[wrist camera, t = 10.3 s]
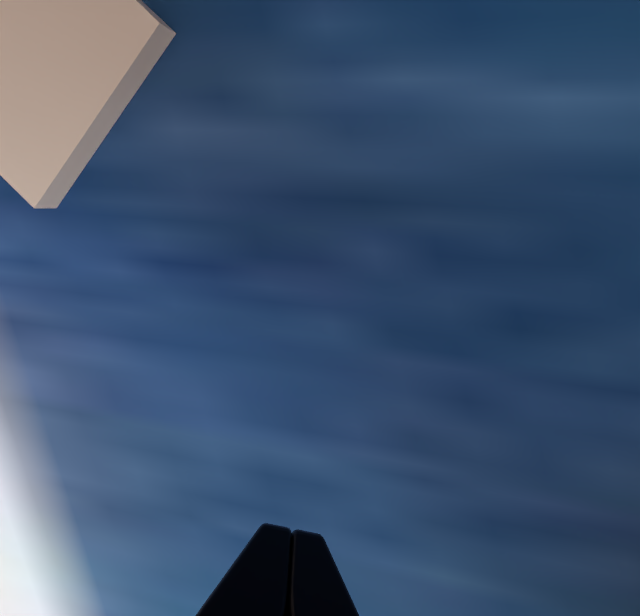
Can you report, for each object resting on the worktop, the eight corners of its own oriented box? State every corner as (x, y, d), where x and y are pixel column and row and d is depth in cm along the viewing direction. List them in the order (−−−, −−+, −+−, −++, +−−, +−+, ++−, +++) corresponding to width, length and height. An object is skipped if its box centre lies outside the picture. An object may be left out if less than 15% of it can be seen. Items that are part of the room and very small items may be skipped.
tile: (159, 22, 15) (-63, -190, 15) (34, 208, 17) (-161, 17, 17) (184, 38, 17) (-20, -156, 17) (65, 207, 19) (-115, 31, 19)
